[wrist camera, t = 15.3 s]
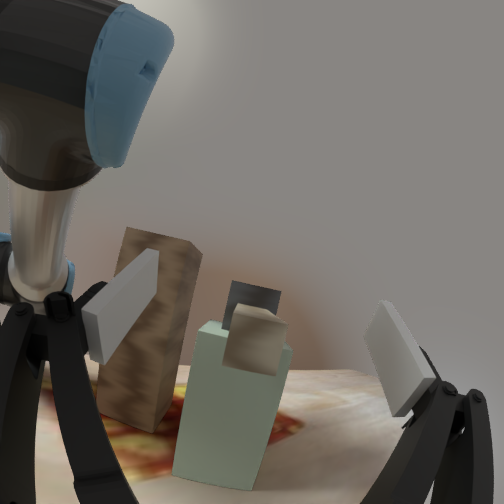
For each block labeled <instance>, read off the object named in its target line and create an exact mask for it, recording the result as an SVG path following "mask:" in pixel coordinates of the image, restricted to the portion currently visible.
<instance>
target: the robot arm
mask: <svg viewBox="0 0 504 504" xmlns="http://www.w3.org/2000/svg"><path fill="white" fill-rule="evenodd" d="M173 46H174V36H173V33H172V31H171V29H170V28H169V27H168V26H167V25H166V24H164V23H163V22H161V21H159V20H157V19H155V18H153V17H151V16H149V15H147V14H145V13H143V12H141V11H139V10H137V9H136V8H135V7H134V6H133V5H132V4H127V3H124V2H121V1H118V0H0V170H1V171H2V173H3V174H4V175H5V176H6V178H7V179H8V180H9V217H10V230H11V235H10V234H7V233H1V232H0V303H1V304H4V305H7V306H10V307H11V308H10V309H9V311H8V313H7V315H6V317H5V319H4V322H3V324H2V326H1V322H0V504H36V492H35V435H36V422H37V412H38V403H39V396H40V389H41V383H42V377H43V372H44V366H45V362H46V361H49V364H50V373H51V381H52V388H53V395H54V401H55V406H56V411H57V416H58V421H59V426H60V430H61V434H62V438H63V442H64V446H65V449H66V453H67V456H68V459H69V463H70V466H71V469H72V472H73V475H74V483H73V484H74V489H75V492H76V495H77V497H78V500H79V502H80V504H139V502H138V501H137V499H136V497H135V495H134V493H133V491H132V490H131V488H130V486H129V484H128V482H127V480H126V478H125V475H124V473H123V471H122V469H121V467H120V465H119V462H118V460H117V458H116V455H115V453H114V451H113V448H112V446H111V443H110V441H109V438H108V436H107V433H106V430H105V427H104V425H103V422H102V419H101V416H100V413H99V410H98V407H97V404H96V400H95V397H94V394H93V390H92V386H91V383H90V379H89V375H88V371H87V367H86V363H85V359H84V355H85V354H86V353H87V351H89V355H90V359H91V360H93V361H95V362H98V363H100V364H102V365H105V364H106V363H107V362H108V360H109V359H110V357H111V356H112V354H113V353H114V351H115V350H116V348H117V347H118V345H119V344H120V343H121V341H122V340H123V338H124V337H125V335H126V334H127V333H128V331H129V330H130V328H131V327H132V326H133V324H134V323H135V321H136V320H137V319H138V317H139V316H140V314H141V313H142V312H143V310H144V309H145V307H146V306H147V305H148V303H149V302H150V301H151V299H152V298H153V297H154V295H155V294H156V293H157V275H158V260H159V251H157V250H153V249H149V248H147V249H145V250H144V251H143V252H142V253H141V254H140V255H139V256H137V257H136V258H135V259H134V260H133V261H132V262H131V263H130V264H128V265H127V266H126V267H125V268H124V269H123V270H122V271H121V272H120V273H118V274H117V275H116V276H115V277H114V278H113V279H112V280H111V281H110V282H109V283H106V282H103V281H101V282H99V283H96V284H94V285H92V286H91V287H90V288H89V289H88V290H87V291H86V292H85V293H84V294H83V295H82V296H80V297H79V298H78V299H77V300H76V301H75V302H73V298H72V295H71V293H72V288H73V283H74V277H75V267H74V264H73V263H72V262H70V261H68V260H67V259H66V256H65V254H64V248H65V243H66V239H67V235H68V231H69V226H70V223H71V219H72V215H73V211H74V208H75V204H76V201H77V198H78V194H79V191H80V188H81V186H83V185H85V184H87V183H88V182H90V181H91V180H92V179H94V178H95V177H96V176H97V175H98V174H99V172H100V171H101V170H102V168H108V167H113V168H117V167H121V166H122V165H123V164H124V161H125V159H126V156H127V153H128V150H129V147H130V145H131V142H132V139H133V136H134V134H135V131H136V128H137V126H138V123H139V121H140V118H141V115H142V113H143V110H144V108H145V106H146V104H147V101H148V99H149V97H150V95H151V92H152V90H153V88H154V85H155V84H156V81H157V79H158V77H159V75H160V73H161V71H162V69H163V67H164V65H165V63H166V61H167V59H168V57H169V55H170V53H171V51H172V49H173ZM11 241H12V243H11ZM363 337H364V339H365V342H366V345H367V347H368V350H369V352H370V355H371V357H372V360H373V363H374V365H375V368H376V371H377V373H378V376H379V379H380V382H381V384H382V387H383V390H384V393H385V396H386V399H387V402H388V405H389V408H390V411H391V414H392V417H405V416H406V415H407V414H408V412H409V411H410V410H411V409H412V410H413V413H414V415H413V416H412V417H411V418H410V419H409V420H408V421H407V422H406V423H405V424H404V426H403V427H402V429H403V428H404V427H406V428H405V430H404V432H403V434H402V436H401V438H400V440H399V442H398V444H397V446H396V447H395V449H394V451H393V453H392V455H391V456H390V458H389V460H388V462H387V463H386V465H385V467H384V468H383V470H382V472H381V473H380V475H379V476H378V478H377V480H376V481H375V483H374V484H373V486H372V487H371V489H370V490H369V492H368V493H367V495H366V496H365V497H364V499H363V500H362V502H361V503H360V504H424V502H425V500H426V498H427V495H428V493H429V491H430V488H431V486H432V484H433V481H434V487H433V492H432V497H431V503H430V504H493V492H494V489H493V488H494V469H493V450H492V438H491V429H490V422H489V415H488V409H487V403H486V399H485V397H484V395H483V393H482V392H480V391H478V390H477V389H471V390H470V391H469V392H468V393H467V395H466V396H465V395H461V394H458V391H457V389H456V388H455V387H454V385H452V384H451V383H449V382H446V381H442V380H441V378H440V376H439V374H438V372H437V371H436V369H435V367H434V366H433V364H432V362H431V361H430V359H429V357H428V355H427V353H426V352H425V351H424V350H423V349H422V348H421V347H420V346H418V344H417V343H416V341H415V340H414V338H413V336H412V335H411V333H410V331H409V330H408V328H407V326H406V325H405V323H404V322H403V320H402V318H401V317H400V315H399V314H398V312H397V311H396V309H395V308H394V306H393V304H392V303H391V302H389V301H385V300H380V302H379V304H378V306H377V308H376V311H375V313H374V315H373V317H372V319H371V321H370V323H369V325H368V327H367V329H366V331H365V333H364V335H363ZM464 427H465V429H464V431H463V433H462V429H463V428H464Z"/></svg>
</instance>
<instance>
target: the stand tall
mask: <svg viewBox="0 0 504 504" xmlns="http://www.w3.org/2000/svg"><path fill="white" fill-rule="evenodd" d="M147 248H149V249H153V250H157V251H159V260H158V275H157V293H156V294H155V295H154V297H153V298H152V299H151V301H150V302H149V303H148V305H147V306H146V307H145V309H144V310H143V312H142V313H141V314H140V316H139V317H138V319H137V320H136V321H135V323H134V324H133V326H132V327H131V328H130V330H129V331H128V333H127V334H126V335H125V337H124V338H123V340H122V341H121V343H120V344H119V345H118V347H117V348H116V350H115V351H114V353H113V354H112V356H111V357H110V359H109V360H108V362H107V363H106V364H105V365H102V364H100V363H99V372H98V384H97V398H96V404H97V407H98V410H99V413H101V414H103V415H105V416H108V417H110V418H112V419H115V420H117V421H120V422H122V423H125V424H127V425H130V426H133V427H135V428H138V429H141V430H144V431H146V432H149V433H152V434H153V432H154V431H155V429H156V428H157V426H158V424H159V423H160V421H161V420H162V418H163V417H164V415H165V414H166V412H167V411H168V409H169V407H170V406H171V404H172V399H173V393H174V387H175V381H176V376H177V371H178V365H179V360H180V355H181V350H182V345H183V340H184V335H185V330H186V325H187V321H188V316H189V311H190V307H191V302H192V298H193V293H194V289H195V285H196V280H197V276H198V272H199V267H200V263H201V259H202V255H203V254H202V253H201V252H200V251H199V250H198V249H197V248H196V247H195V246H194V245H193V244H192V243H191V242H190V241H186V240H182V239H178V238H173V237H169V236H165V235H160V234H156V233H151V232H147V231H143V230H138V229H134V228H130V227H127V228H126V231H125V235H124V238H123V242H122V246H121V250H120V253H119V257H118V261H117V266H116V270H115V274H114V277H115V276H116V275H117V274H118V273H120V272H121V271H122V270H123V269H124V268H125V267H126V266H127V265H128V264H130V263H131V262H132V261H133V260H134V259H135V258H136V257H137V256H139V255H140V254H141V253H142V252H143V251H144V250H145V249H147Z"/></svg>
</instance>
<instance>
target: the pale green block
mask: <svg viewBox="0 0 504 504" xmlns="http://www.w3.org/2000/svg"><path fill="white" fill-rule="evenodd" d="M222 323H223V322H220V321H215V320H210V321H209V322H207V323H206V324H205V325H204V326H203V327H202V328H200V329H199V330H198V334H197V338H196V343H195V348H194V353H193V358H192V363H191V367H190V372H189V377H188V383H187V388H186V393H185V398H184V404H183V409H182V415H181V420H180V426H179V432H178V438H177V444H176V450H175V456H174V462H173V469H172V475H173V476H177V477H181V478H185V479H189V480H193V481H197V482H201V483H206V484H211V485H216V486H221V487H227V488H233V489H240V490H248V491H251V490H252V488H253V485H254V482H255V479H256V476H257V473H258V471H259V468H260V465H261V462H262V459H263V456H264V453H265V449H266V446H267V443H268V440H269V437H270V434H271V430H272V427H273V424H274V420H275V417H276V414H277V410H278V407H279V403H280V400H281V396H282V392H283V389H284V385H285V381H286V378H287V374H288V370H289V366H290V362H291V358H292V354H293V350H292V349H291V348H290V347H289V345H288V344H287V343H286V342H285V341H284V345H283V349H282V354H281V358H280V362H279V366H278V370H277V373H276V376H270V375H264V374H259V373H254V372H249V371H244V370H239V369H234V368H230V367H225V366H221V365H222V361H223V356H224V352H225V347H226V343H227V339H228V334H229V331H227V330H223V329H221V328H222Z"/></svg>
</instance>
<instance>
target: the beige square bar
mask: <svg viewBox="0 0 504 504" xmlns="http://www.w3.org/2000/svg"><path fill="white" fill-rule="evenodd" d="M280 295H281V291H277V290H273V289H269V288H264V287H260V286H255V285H250V284H246V283H242V282H237V281H232V283H231V288H230V292H229V296H228V301H227V305H226V310H225V315H224V319H223V323H222V328H221V329H223V330H227V331H229V334H228V339H227V343H226V347H225V352H224V356H223V361H222V365H221V366H225V367H230V368H234V369H239V370H244V371H249V372H254V373H259V374H264V375H270V376H276V373H277V370H278V366H279V362H280V358H281V354H282V349H283V345H284V341H285V337H286V332H287V328H288V324H287V323H285V322H284V321H283V320H281V319H280V318H278V317H277V316H276V313H277V309H278V303H279V300H280Z"/></svg>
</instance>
